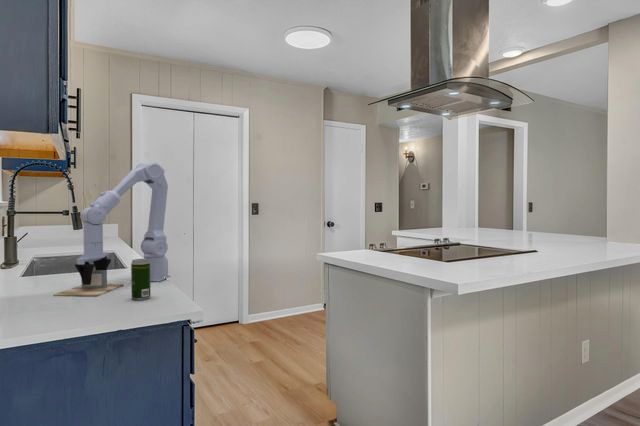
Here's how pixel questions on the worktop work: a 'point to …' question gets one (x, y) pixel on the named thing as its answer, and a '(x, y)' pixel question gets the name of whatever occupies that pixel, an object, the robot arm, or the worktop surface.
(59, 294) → the mat
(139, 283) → the guarana soda can
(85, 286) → the tile
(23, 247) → the worktop surface
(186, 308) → the worktop surface
